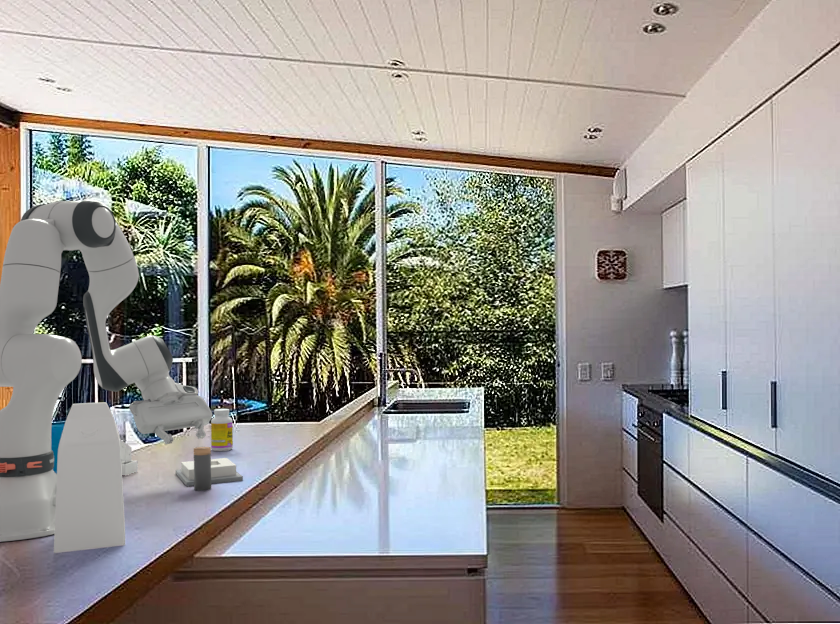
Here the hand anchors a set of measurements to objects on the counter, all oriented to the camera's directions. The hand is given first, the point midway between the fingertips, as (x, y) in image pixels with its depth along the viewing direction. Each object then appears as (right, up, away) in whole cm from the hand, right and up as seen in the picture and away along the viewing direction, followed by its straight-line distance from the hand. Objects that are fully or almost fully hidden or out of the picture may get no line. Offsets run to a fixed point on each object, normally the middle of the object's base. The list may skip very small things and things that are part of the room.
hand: (186, 439), depth 193 cm
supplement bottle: (-4, -12, +52) cm, 54 cm away
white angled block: (-21, -12, +16) cm, 29 cm away
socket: (+3, -11, +10) cm, 16 cm away
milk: (-4, -11, -48) cm, 49 cm away
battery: (+5, -11, -4) cm, 13 cm away
